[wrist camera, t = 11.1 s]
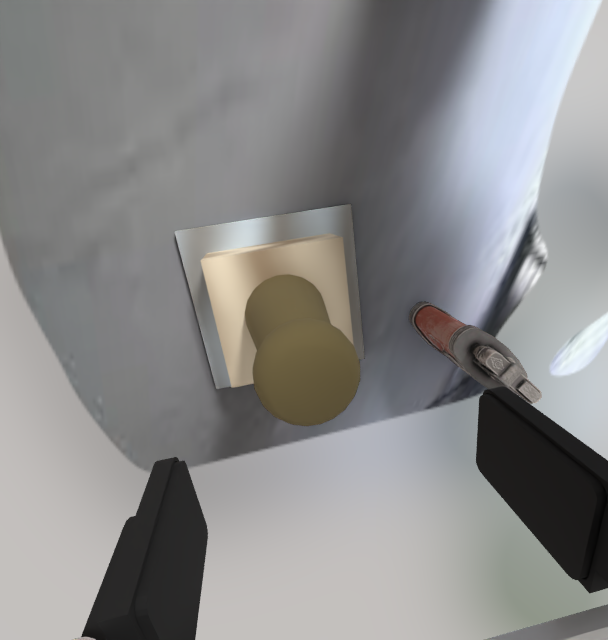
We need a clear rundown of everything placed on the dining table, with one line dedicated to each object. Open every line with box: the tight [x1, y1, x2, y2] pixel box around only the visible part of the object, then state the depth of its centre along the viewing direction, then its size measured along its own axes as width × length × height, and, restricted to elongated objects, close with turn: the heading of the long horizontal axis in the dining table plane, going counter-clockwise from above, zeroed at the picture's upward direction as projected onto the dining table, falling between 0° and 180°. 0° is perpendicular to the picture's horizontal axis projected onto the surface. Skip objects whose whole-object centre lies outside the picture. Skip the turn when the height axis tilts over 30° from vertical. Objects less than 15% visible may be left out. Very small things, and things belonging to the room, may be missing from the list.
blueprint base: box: [175, 204, 365, 389], centre depth 27 cm, size 14×14×5 cm
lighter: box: [409, 301, 542, 404], centre depth 28 cm, size 8×3×10 cm, turn 51°
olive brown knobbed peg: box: [245, 274, 360, 426], centre depth 20 cm, size 6×6×11 cm
